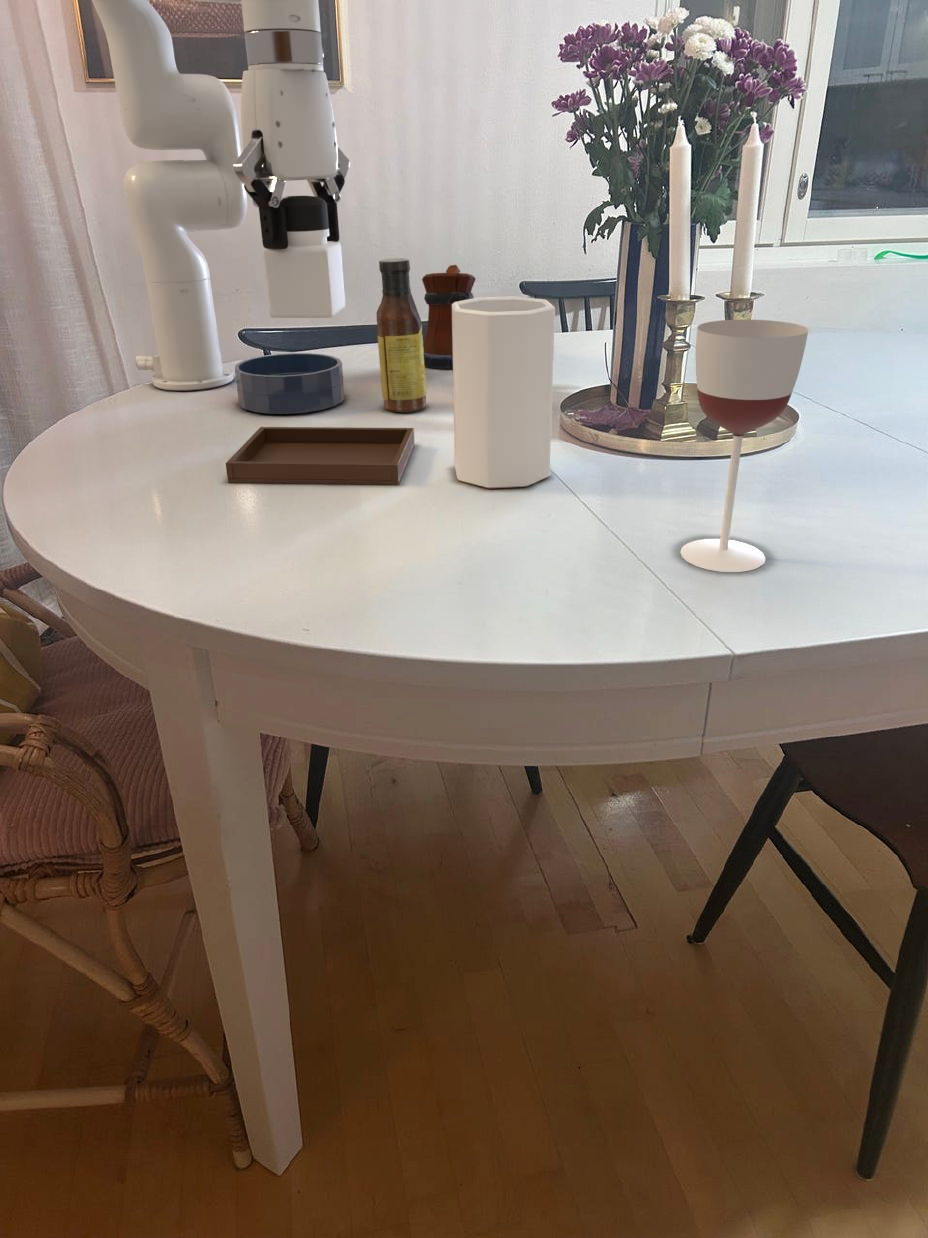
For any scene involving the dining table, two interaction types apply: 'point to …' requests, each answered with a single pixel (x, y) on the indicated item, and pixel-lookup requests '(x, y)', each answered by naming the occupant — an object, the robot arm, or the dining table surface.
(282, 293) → the medicine bottle
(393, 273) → the sauce bottle
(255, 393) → the bowl
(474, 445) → the cup
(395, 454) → the tray
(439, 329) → the wooden pepper grinder
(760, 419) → the wineglass
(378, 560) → the dining table surface
